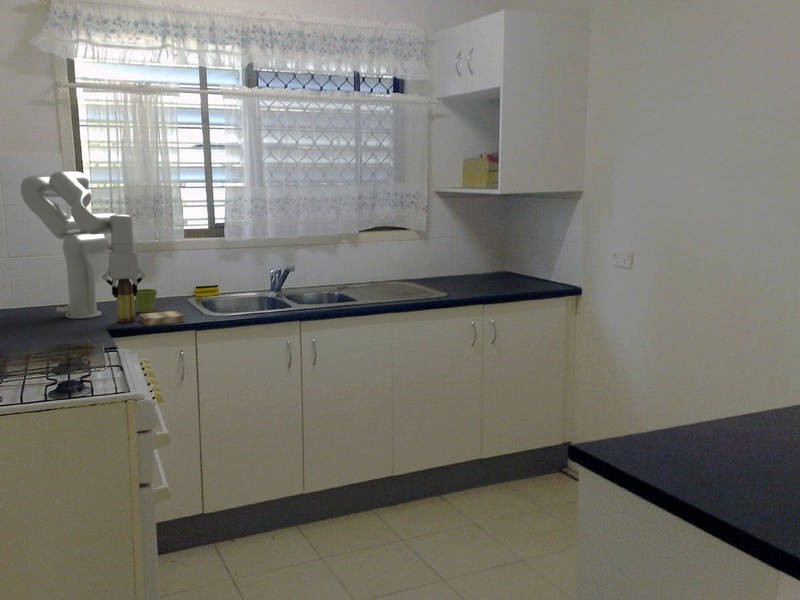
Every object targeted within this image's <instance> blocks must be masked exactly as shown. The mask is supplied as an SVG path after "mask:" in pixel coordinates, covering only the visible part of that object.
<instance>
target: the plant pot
mask: <svg viewBox="0 0 800 600" xmlns="http://www.w3.org/2000/svg"><path fill="white" fill-rule="evenodd" d="M137 292H138V293H137V294H136V296H134V299H135V302H136V307H137V308H136V309H137V312H138V313H139V312H140V313H139V314H145V313H155V309H156V308H155V305H156V296H157V294H158V293H157V292H159V291H158V289H155V288H141V289H140V288H139V289H138V288H137Z"/></svg>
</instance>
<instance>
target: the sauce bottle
mask: <svg viewBox="0 0 800 600" xmlns="http://www.w3.org/2000/svg"><path fill="white" fill-rule="evenodd" d="M132 285H133V283H132V282H131V280H130V279H119V280H117V284H116V287H117V297H116V309H117V310H116V311H117V318H118V321H119V322H121V323H132V322H134V321H136V306H135V305H136V304H135V296H134V292H133V286H132Z"/></svg>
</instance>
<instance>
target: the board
mask: <svg viewBox="0 0 800 600" xmlns="http://www.w3.org/2000/svg"><path fill="white" fill-rule="evenodd" d="M138 316H139V317H138V319H139V320H140V322H141V323H142V324H143V325H145V326H146V327H148V326H155V325H156V326H157V325H168V324H179V323H185V315H184V314H182V313H181V312H179V311H178V310H170V311H169V310H168V311H161V312H160V311H158V312H157V311H156V312H150V313H147V312H144V313H139V314H138Z"/></svg>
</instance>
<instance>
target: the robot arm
mask: <svg viewBox="0 0 800 600" xmlns="http://www.w3.org/2000/svg"><path fill="white" fill-rule="evenodd" d="M89 184H90V183H89V179H88V176H87V175H86V174H84V173H83V172H81V171H77V170H75V171H74V170H61V171H55V172H53V173H52V174H50V175H44V174H43V175H42V174H37V175H31V176H28V177H27V176H26V178H24V179H23V180H22V182H21V183H20V194H21V196H22V200H23V202H24V203H25V205H26V206H27V207H28V209H29V210H30V211H32V212H33V213H34V215H36V216H37V217H38V218H39V219H40V220H41V222H42V223H43V224H44V226H45V227H46V228H47V229H48V230H49V231H50V232H51V234H52V235H53V236H54V237H55V238H57V239H59V240H63V242H62V252H63V255H64V259H65V263H66V272H67V283H68V285H67V286H68V300H69V301H68V302H69V303H68V304H67V305H65V306H64V307H63V306H62V307H56V313H57V314H58V313H61V314H62V313H66V314H65V317H66V318H69V319H76V320H77V319H81V320H82V319H90V318H91V319H92V318H96V317H100V316H102V311H100V310H97V309H98V308H97V295H96V277H95V268H94V266H93V264H92V262H91V260H90V259H93V258H100V257H103V256H105V255H106V254H107V253H108V252H109V250H110V252H109V256H108V270H106V271H105V272H104V273H103V274H102V276H101V279H103V280H104V281H105V282H106V283H107V284H108V285H110V286H111V295H112V296H113V297H114V298H116V297H117V283H118V281H119V279H129V280H131V281H132V286H133V292H134V297H135V296H136V294H137V293H138V292H137V289H138V286H139V284H140V283H141V282H142V280H144V278H145V277H146V275H147V274H146V273H145V272H144V271H142V270H141V269H140V268H139V260H138V256H137V255H138V254H137V251H136V250H135V251H134V238H133V236H134V235H133V220H132V216H131V215H129V214H125V213H124V214H120V213H119V214H118V213H115V212H114V213H112V212H106V213H105V212H103V213H91V212H90V211H89V210H88V209H87V207H88V206H89V205H90V204H91V201H92V194H91V192H89V190H88V189H89ZM49 198H62V199H63V200H64V202H66V203H67V205H69V206H70V207H71V211H70V212H71V213H67V212H65V211H64V210H63V209H62V208H61V206H60V205H59V204H57V203H56V202H55V201H53V200H51V199H49ZM106 234H109V235H110V242H111V243H110V242H109V240H108V238H107V236H106ZM108 277H109V278H111V279H112V280H110V279H109V278H108ZM116 299H117V298H116Z"/></svg>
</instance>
